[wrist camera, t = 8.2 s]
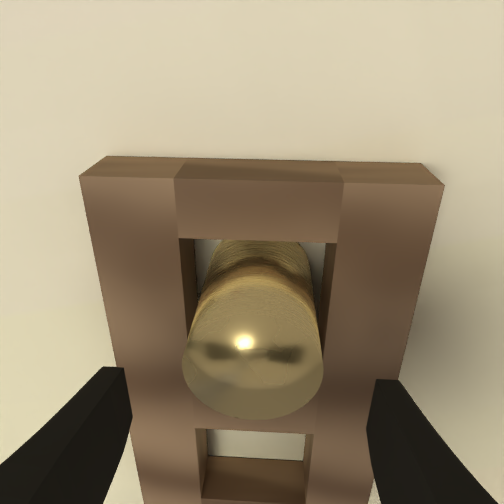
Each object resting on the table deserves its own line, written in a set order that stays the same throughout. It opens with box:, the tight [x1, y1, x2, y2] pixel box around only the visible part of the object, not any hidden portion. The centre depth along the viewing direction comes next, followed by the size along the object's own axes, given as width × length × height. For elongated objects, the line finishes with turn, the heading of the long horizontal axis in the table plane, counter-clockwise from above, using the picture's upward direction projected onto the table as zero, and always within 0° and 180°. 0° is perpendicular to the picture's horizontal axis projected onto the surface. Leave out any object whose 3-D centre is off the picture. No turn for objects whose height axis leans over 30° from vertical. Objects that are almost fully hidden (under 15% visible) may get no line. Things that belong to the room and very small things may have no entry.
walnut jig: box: [79, 156, 445, 504], centre depth 19 cm, size 20×12×2 cm, turn 179°
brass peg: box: [182, 240, 324, 420], centre depth 15 cm, size 4×4×6 cm
